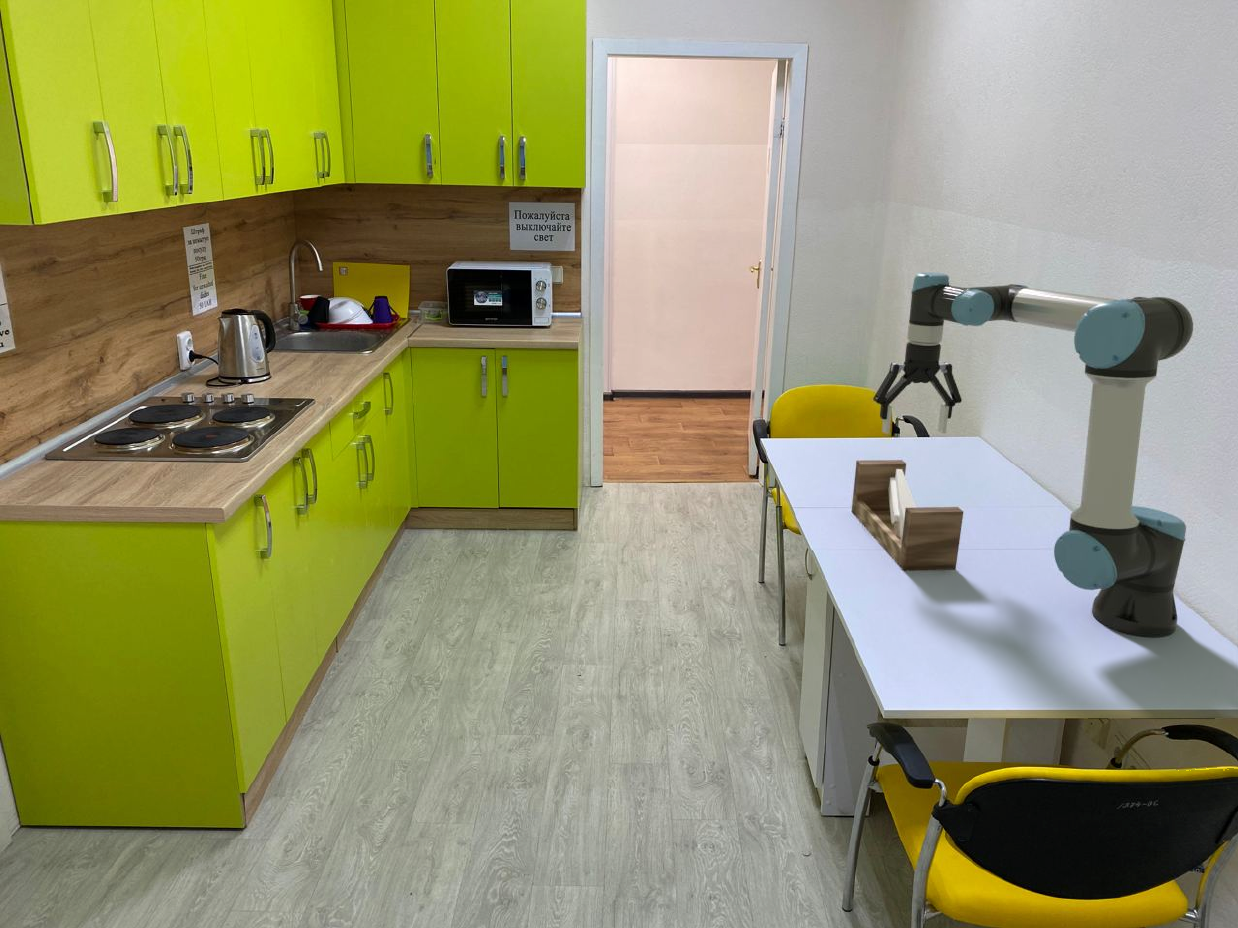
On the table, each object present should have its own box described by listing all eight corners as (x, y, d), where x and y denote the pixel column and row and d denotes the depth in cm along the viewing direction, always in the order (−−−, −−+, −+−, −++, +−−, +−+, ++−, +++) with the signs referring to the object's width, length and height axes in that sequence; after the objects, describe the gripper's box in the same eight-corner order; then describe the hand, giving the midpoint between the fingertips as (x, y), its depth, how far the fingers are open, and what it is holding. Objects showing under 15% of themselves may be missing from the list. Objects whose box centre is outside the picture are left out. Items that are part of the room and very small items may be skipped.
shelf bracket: (903, 511, 246) (910, 469, 240) (916, 569, 224) (924, 524, 218) (881, 510, 246) (888, 468, 240) (892, 567, 225) (899, 522, 219)
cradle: (955, 569, 215) (963, 511, 210) (903, 570, 214) (910, 512, 209) (896, 510, 250) (901, 460, 245) (851, 511, 249) (856, 460, 244)
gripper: (969, 339, 222) (958, 427, 228) (865, 339, 219) (856, 428, 226) (984, 345, 215) (972, 435, 221) (876, 345, 212) (867, 437, 219)
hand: (913, 432), depth 223 cm, fingers open, 13 cm apart
